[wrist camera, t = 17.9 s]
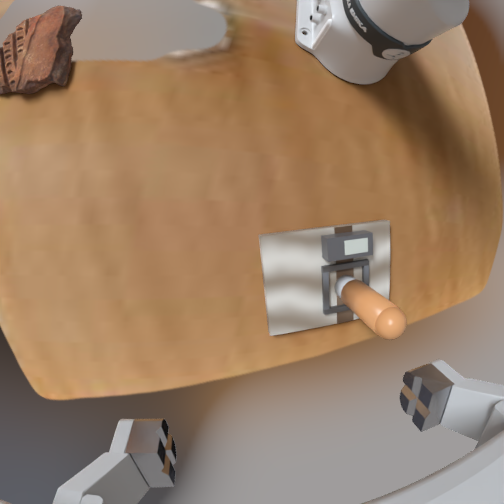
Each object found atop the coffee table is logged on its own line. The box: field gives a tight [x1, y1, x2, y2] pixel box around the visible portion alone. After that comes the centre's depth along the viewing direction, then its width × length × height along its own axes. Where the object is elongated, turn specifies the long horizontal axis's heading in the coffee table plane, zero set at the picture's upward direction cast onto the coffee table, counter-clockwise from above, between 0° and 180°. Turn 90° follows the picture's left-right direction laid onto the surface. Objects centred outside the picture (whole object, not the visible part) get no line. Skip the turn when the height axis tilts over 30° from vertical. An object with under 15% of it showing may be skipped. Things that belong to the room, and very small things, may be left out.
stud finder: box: [321, 230, 373, 262], centre depth 42 cm, size 3×7×2 cm, turn 96°
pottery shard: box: [0, 6, 82, 94], centre depth 31 cm, size 16×16×4 cm
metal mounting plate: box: [259, 220, 390, 336], centre depth 45 cm, size 15×20×2 cm
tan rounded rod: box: [334, 275, 407, 340], centre depth 38 cm, size 4×4×15 cm
